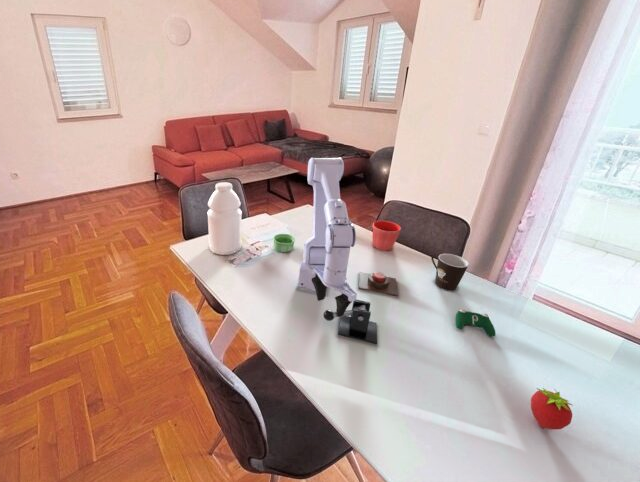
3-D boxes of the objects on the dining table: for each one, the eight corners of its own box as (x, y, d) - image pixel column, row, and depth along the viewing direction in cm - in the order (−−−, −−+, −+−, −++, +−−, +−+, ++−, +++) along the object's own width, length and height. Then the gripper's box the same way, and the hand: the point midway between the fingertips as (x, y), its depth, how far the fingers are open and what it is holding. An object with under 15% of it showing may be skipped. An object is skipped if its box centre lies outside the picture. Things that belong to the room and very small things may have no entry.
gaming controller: (490, 337, 88) (489, 315, 91) (496, 336, 85) (495, 314, 87) (452, 329, 91) (452, 309, 93) (457, 328, 88) (457, 307, 90)
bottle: (227, 236, 142) (226, 177, 131) (248, 247, 133) (249, 184, 122) (202, 246, 134) (198, 184, 122) (223, 259, 124) (221, 192, 113)
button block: (358, 290, 106) (359, 282, 104) (359, 274, 114) (360, 267, 113) (397, 298, 102) (399, 290, 101) (395, 281, 110) (396, 274, 109)
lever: (324, 323, 90) (321, 315, 89) (326, 316, 92) (322, 308, 91) (367, 318, 84) (364, 309, 83) (367, 311, 87) (364, 302, 86)
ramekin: (273, 242, 137) (273, 233, 135) (294, 243, 136) (294, 234, 134) (272, 252, 129) (272, 242, 127) (294, 253, 128) (295, 244, 126)
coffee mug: (464, 294, 104) (473, 268, 100) (436, 291, 105) (444, 265, 101) (450, 274, 114) (458, 250, 110) (424, 272, 116) (431, 248, 112)
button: (373, 281, 106) (373, 276, 105) (372, 275, 109) (373, 271, 108) (384, 283, 105) (385, 278, 104) (384, 277, 108) (384, 273, 107)
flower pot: (401, 252, 129) (406, 231, 125) (374, 252, 129) (378, 231, 125) (390, 240, 138) (394, 220, 135) (365, 240, 139) (368, 220, 135)
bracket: (337, 336, 87) (341, 311, 83) (339, 317, 94) (343, 293, 90) (376, 346, 83) (382, 320, 80) (375, 325, 90) (381, 301, 87)
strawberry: (521, 430, 63) (539, 396, 59) (522, 403, 68) (539, 371, 64) (561, 451, 60) (584, 416, 56) (559, 421, 65) (580, 388, 61)
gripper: (368, 275, 79) (360, 317, 85) (327, 250, 91) (323, 289, 96) (348, 283, 76) (341, 327, 81) (309, 256, 88) (305, 296, 93)
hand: (330, 307), depth 89 cm, fingers open, 7 cm apart
